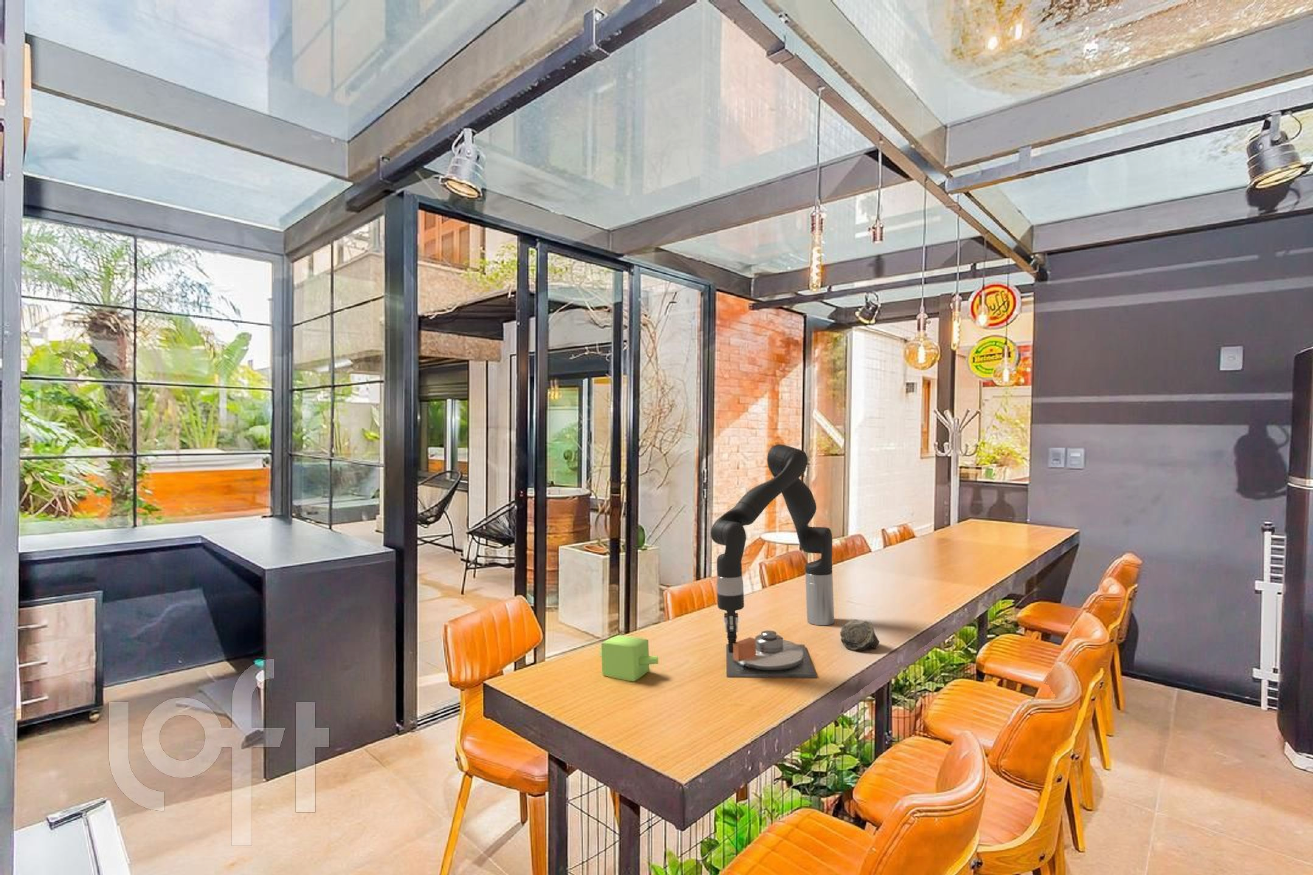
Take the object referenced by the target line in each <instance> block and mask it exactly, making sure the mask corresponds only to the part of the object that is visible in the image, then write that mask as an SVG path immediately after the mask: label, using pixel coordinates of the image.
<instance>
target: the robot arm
mask: <svg viewBox="0 0 1313 875" xmlns="http://www.w3.org/2000/svg"><path fill="white" fill-rule="evenodd" d="M766 461H767V467H768V469H769V472H770V473H771V475H772V476H773V477H772V478H771V479H769V480H767V481H765V482H763V483H761V484H758V485H756V486H754V487H752V488H751V489H749V490H748V491H747V492H746V493H745V494H744V495H743V496H742V497H741V499H739V501H738V502H737V503H736V504H735V506H734V507H732V508H731V509H729V510H728V511H726V512H725V513H724V514H723V515H721V516H720V517H719V518H717V519H716V520H715V521H714V523H713V524H712V526H711V529H710V538H711V540H712V541H713V542H714V543H715V544H717V545H720V546H725V550H724V553H721V554H719V555H718V556H717V557H716V558H717V559H716V573H717V574H716V576H717V578H716V600H717V604H716V605H717V608H718V609H719V610H722V611H726V612H724V613H723V620H724V623H725V624H724V625H725V632H726V633H727V634H726V638H727V640H728V641H727V642H728V643H727V644H728V648H729V653H733V643H735V642H737V639H738V635H737V633H738V632H739V628H738V625H739V612H736V611H740V610H741V611H742V609H744V607H745V596H744V594H745V593H744V579H743V569H742V567H743V566H742V560H743V556H744V551H745V547H746V542H747V534H746V530H745V527H746V526H751V525H752V524H753V523H754V522H755V521H756V520H757V519H758V517H759V516H760V515H761V514H762V512H763V511H764V510H765V509H766V508H767V506H768V505H769V504H771V502H773V501H774V499H776V498H777V497H778V496H779V495H781V494H782V497H783V499H784V503H785V506H786V507H787V510H788V513H789V515H790V516H791V520H792V522H793V525H794V529H795V533H796V535H797V539H798V543H799V546H800V548H801V550H802V551H803V552H804V553H807V554H808V553H809V554H820V555H821V556H820V558H819V559H816V560H814V561H810V562H808V563H806V564H805V566H804V574H805V576H804V577H805V597H806V598H805V599H806V621H807V622H808V623H809V624H811V625H816V626H830V625H834V623H835V610H834V609H835V607H834V606H835V605H834V604H835V603H834V582H833V581H834V580H833V579H834V578H833V535H832V534H833V533H832V530H831V528H829V527H826V526H823V527H822V526H809V525H808V524H809V523H810V522H811V521H812V520H813V518H814V516H815V515H816V513H817V503H816V500H815V498H814V494H813V493H812V491H811V489H810V488H809V487H808V484H805V483H804V481H803V480H801V478H800V477H802V475H803V474H804V472H805V471H806V469H807V466H808V461H809V460H808V455H807V453H806V452H805V451H804V450H801V449H799V448H797V447H793V446H790V445H786V444H775V445H773V446H771V447H770V449H769V450H768V453H767V457H766Z"/></svg>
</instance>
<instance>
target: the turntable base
mask: <svg viewBox="0 0 1313 875" xmlns="http://www.w3.org/2000/svg"><path fill="white" fill-rule="evenodd" d="M798 645H799V646H800V647H801V648H802V650H803V661H802V662H801V663H800V664H799V665H797V666H795V667H792V668H788V669H781V670H761V669H754V668H750V667H746V666H743V665H741V664H739V663H737V662H736V661H735V660H734V658H733V653H729V648H728V643H726V646H725V647H726V649H725V650H726V652H725V653H726V654H725V655H726V663H725V664H726V667H725V668H726V672H725V673H726V678H786V679H787V678H790V679H791V678H793V679H794V678H796V679H797V678H798V679H799V678H801V679H803V678H804V679H817V673H816V670H815V669H814V666H813V663H812V661H811V660H812V659H811V657H810V655H809V653H808V651H807V648H806V645H805V644H798Z"/></svg>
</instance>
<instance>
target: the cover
mask: <svg viewBox="0 0 1313 875" xmlns="http://www.w3.org/2000/svg"><path fill="white" fill-rule="evenodd" d="M754 639H755V641H756V650H757V651H759V652H762V653H779V652H781V651H783V640H784V638H783V636H781V635H779V634H777V632H776V631H774V630H770V629H769V630H762V631H761V632H760V634H758V635H756V636H755V638H754Z"/></svg>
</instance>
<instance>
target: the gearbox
mask: <svg viewBox="0 0 1313 875" xmlns="http://www.w3.org/2000/svg"><path fill="white" fill-rule="evenodd" d="M649 652H650V650H649V639H646V638H641V637H638V636H637V637H636V636H629V635H622V634H618V635H615V636H612V637H610V638H608V639H606V640H604V641H603V642H602V643H601V650H600V651H599V654H600V656H599V657H600V658H601V671H602V672H601V673H602V676H605V677H610V678H613V679H618V680H623V681H629V682H636V681H638V680H639V679H640V678H641V677H643V676H644V675H645V674H647V673H649V671H650V665H657V664H659V657H658V655H650V653H649Z"/></svg>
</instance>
